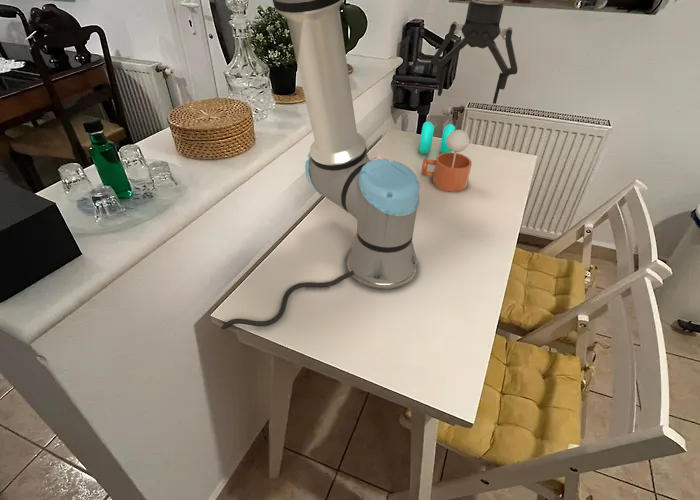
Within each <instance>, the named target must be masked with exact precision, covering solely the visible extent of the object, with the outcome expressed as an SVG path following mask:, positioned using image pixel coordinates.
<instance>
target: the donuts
mask: <svg viewBox="0 0 700 500" xmlns="http://www.w3.org/2000/svg"><path fill="white" fill-rule="evenodd" d="M454 130H456V127H455V125H454V124H453V123H449V124H446V125H445V127H444V128H443V130H442V135H441V140H440V146H439V152H440V154H442V153H452V152H453V151H452V150H450V149H449V147H448V146H447V141H446V139H447V136H448V135H449V134H450V133H451V132H452V131H454ZM434 132H435V126H434V124H433V123H432V122H431V121H429V120H428V121H425V122H424V123H423V124H422V127H421V133H420V137H419V146H418V147H419V148H418V151H419V153H420V154H422V155H426V154H428V153H429V152H430V150H431V148H432V145H433V138H434V134H435V133H434Z"/></svg>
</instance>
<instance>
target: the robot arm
mask: <svg viewBox="0 0 700 500" xmlns="http://www.w3.org/2000/svg"><path fill="white" fill-rule="evenodd" d="M504 1H505V0H470V1H469V2H468V6H467V11H466V15H465V20H464V24H460V23H457V21H453V22H452V23H451V24H450V27H449V30H448V34H447V35H446V36H445V38H444V40H443V41H442V43H441V44H440V46H439V47H438V49H437V51H436V52H435V54H434V55H433V56H432V58H431V60H430V64H431V65H435V66H436V68H437V69H436V75H435V81H437V82H439V85H438V89H437V96H438V97H441V96H442V94H443V90H444V84H445V77H446V73H447V65H446V64H447V63H448V62H449V61H450V60H451V59H453V58H454V57H455V56H456V55H457V54H458V53H459V52H460V51H461V50H463V48H465V47H466V46H467V45H468V46H469V47H470V48H479V49H486V48H488V50H489V52H490V53H491V54H492V56H493V59H494V60H495V62H496V64H497V66H498V68H499V70H500V71H501V72H499V75H498V79H497V84H496V86H495V87H496V88H495V92H494V96H493V100H492V104H493V105H495V104H497V101H498V98H499V92H500V90H502V91H504V90H505V88H506V85H507V82H508V78H509V77H510V76H511V75H516V74H517V73H518V70H519V69H518V63H517V59H516V55H515V49H514V44H513V40H512V36H513V27H507V28H501V27H500V24H501V20H502V14H503V10H504V7H505V6H504V3H503V2H504ZM344 2H345V0H272V3H273V8H274V10H275V11H276V12H277V13H279V14H280V15H281V16H283V17H284V18H285V19H286V21H287V24H288V26H287V27H288V29H289V35H290V38H291V43H292V47H293V52H294V57H295V60H296V64H297V69H298V73H299V74H298V75H299V78H300V81H301V86H302V87H301V88H302V92H303V96H304V100H305V104H306V109H307V113H308V117H309V122H310V126H311V130H312V135H313V140H314V141H313V142H312V143H311V144H310V147H309V152H308V154H307V157H308V159H306V161H305V164H304V168H305V169H304V172H305V176H306V180H307V182H308V183H309V184H310V186H311V187H312V188H313V189H314V190H315V191H316V192H317V193H318V194H319V195H320V196H323V198H326V199H327V200H329V201H331V202H332V203H333V204H335V205H337V206H338V207H339V208H341V209H343V210H344V211H345V212H347V213H348V214H350V215H351V216H353V217H354V218H355V219H356V221H357V224H356V236H355V238H354V241H353V244H352V246H351V248H350V249H349V251H348V255H347V259H346V260H347V262H346V263H347V264H346V265H347V266H346V267H347V270H348V272H346V273H344V274H342V275H340V276H339V277H336V278H335V279H333V280H330V281H325V282H324V281H323V282H313V281H312V282H311V281H310V282H300V283H296V284H294V285H292V286H291V287H289V288H288V289H287V290H286V292H285V293H284V295H283V297H282V301H281V305H280V309H279V310H278V312H277V313H276V315H275V316H274V317H272V318H271V319H268V320H260V321H259V320H253V319H247V318H233V319H230V320H228V321H226V322H225V323H224V324H223V325H222V326H221V328H220V329H221V330H227V329H228V328H229V327H231V326H233V325H238V324H240V325H248V326H252V327H267V326H271V325H273V324H275V323H277V322H278V321H279V320H280V319H281V318H282V317H283V315H284V312H285V310H286V308H287V304H288V300H289V297H290V295H291V294H292V293H293V292H295V291H296V290H299V289H301V288H327V287H332V286H334V285H337V284H339V283H341V282H342V281H344V280H346V279H348V278H350V277H352V278H353V280H355V281H356V282H358V283H359V284H361V285H362V286H365V287H368V288H371V289H376V290H394V289H397V288H400V287H403V286H405V285H407V284H408V283H410V282H411V281H412V280H413V279H414V277H415V275H416V272H417V267H418V260H417V255H416V252H415V247H414V243H413V235H414V230H415V225H416V218H417V212H418V206H419V204H420V180H419V178H418V176H417V175H416V173H415V171H413V170H412V169H411V168H410V167H409V166H407V165H406V164H403V163H402V162H399V161H396V160H392V161H390V160H389V159H387V158H385V159H377V160H372V161H371V160H370V157H369V155H368V149H367V141H366V139H365V137H364V136H363V135H362V134H360V133H358V130H357V125H356V124H357V123H356V117H355V110H354V103H353V95H352V89H351V82H350V76H349V75H350V74H349V68H348V61H347V53H346V48H345V41H344V40H345V39H344V33H343V25H342V20H341V19H342V18H341V13H340V8H341V5H342V4H343V3H344ZM460 31H461V33H462V36H463V38H462V39H461V40H460V42H458V43H457V44H456V45H455V46H454V47H453V48H452V49H451V50H449V52H448V53H446V55H445V56H443V57H442V58H441V59H440V57H441V55H442V54H443V52H444V50H445V49H446V48H447V46H448V45H449V43H450V42H451V40H452V38H453V37H454V35H457V34H458V33H459V32H460ZM499 36H501V38H502V40H504V42H505V48H506V52H507V56H508V61H509V66H510V67H508V65H507V63H506V61H505V60H504V58H503V56H502V53H501V51H500V50H499V48H498V45H497V44H496V41H495V40H496V39H498V37H499Z"/></svg>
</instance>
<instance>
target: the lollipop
mask: <svg viewBox="0 0 700 500" xmlns="http://www.w3.org/2000/svg"><path fill="white" fill-rule="evenodd" d="M446 141H447V146H448V147H449V149H450V150H452V151H451V152H453V153H454V158H453V163H452V168H453V167H454V162H455V157H456V153H460V152H463V151H465V150H466V149H467V148H468V146H469V145H470V137H469V135H468V133H467V132H466V131H465V130H463V129H455V130H454V131H452V132H451V133H450V134H449V135H448V136H447V139H446Z"/></svg>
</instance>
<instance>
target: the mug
mask: <svg viewBox="0 0 700 500" xmlns="http://www.w3.org/2000/svg"><path fill="white" fill-rule="evenodd" d="M454 153H455V152H451V153H442V154H441V153H439V154H438V155H437V156H436V158H435V159H429V158H424V159H423V160H422V164H421V173H420V174H421V176H422V177H429V178H432V184H433V185H434V186H435V187H437V188H438V189H440V190H443V191H447V192H460V191H463V190H464V189H466V187H467V185H468V181H469V177H470V174H471V168H472V165H473V163H472V160H471V158H469V157H468V156H466V155H464V154H463V153H462V154H461V153H459V152H456V157H455V162H454V167H453V168H452V163H453V158H454ZM429 165H431V166H434V169H433V171H428V166H429Z"/></svg>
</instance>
